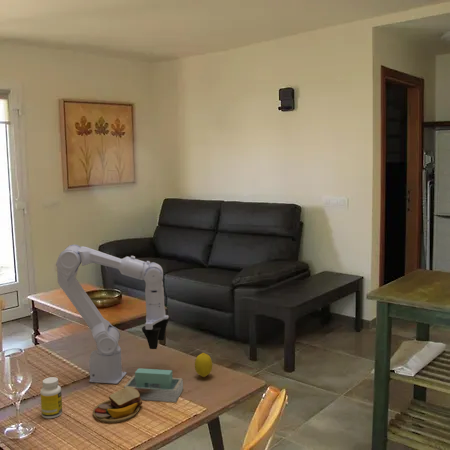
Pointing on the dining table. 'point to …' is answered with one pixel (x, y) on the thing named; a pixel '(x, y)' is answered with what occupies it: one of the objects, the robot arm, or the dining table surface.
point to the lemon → (203, 364)
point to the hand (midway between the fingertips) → (157, 344)
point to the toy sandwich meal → (119, 406)
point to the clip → (154, 377)
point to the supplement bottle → (51, 398)
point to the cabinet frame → (158, 390)
